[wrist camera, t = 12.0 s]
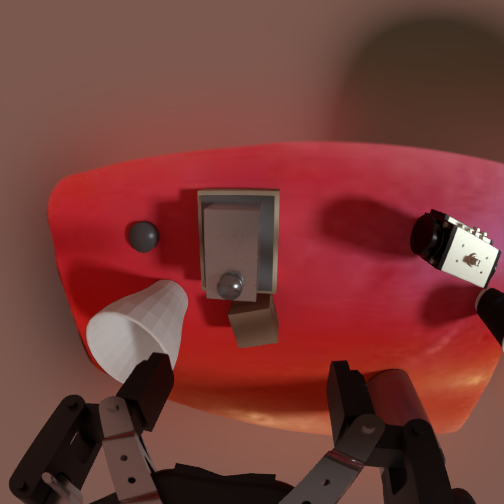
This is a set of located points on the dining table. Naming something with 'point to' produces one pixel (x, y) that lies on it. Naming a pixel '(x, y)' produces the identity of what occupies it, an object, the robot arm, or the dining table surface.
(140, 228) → the black cap
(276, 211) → the stand
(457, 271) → the pneumatic valve
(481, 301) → the dixie cup
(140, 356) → the cup
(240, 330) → the walnut block
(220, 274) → the block
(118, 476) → the robot arm
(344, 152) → the dining table surface
